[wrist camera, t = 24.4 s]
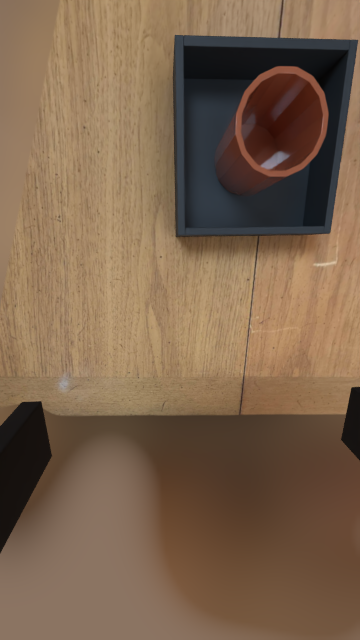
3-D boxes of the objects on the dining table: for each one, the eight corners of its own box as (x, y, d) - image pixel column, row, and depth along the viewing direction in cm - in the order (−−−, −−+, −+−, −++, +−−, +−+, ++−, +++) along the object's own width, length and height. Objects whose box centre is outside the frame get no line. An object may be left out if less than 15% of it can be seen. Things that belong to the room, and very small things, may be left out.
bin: (175, 236, 34) (177, 235, 29) (172, 74, 29) (174, 34, 24) (304, 235, 35) (330, 233, 30) (322, 77, 30) (358, 39, 25)
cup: (213, 196, 32) (233, 176, 23) (214, 121, 30) (238, 64, 21) (275, 196, 33) (321, 176, 23) (281, 122, 30) (335, 66, 21)
